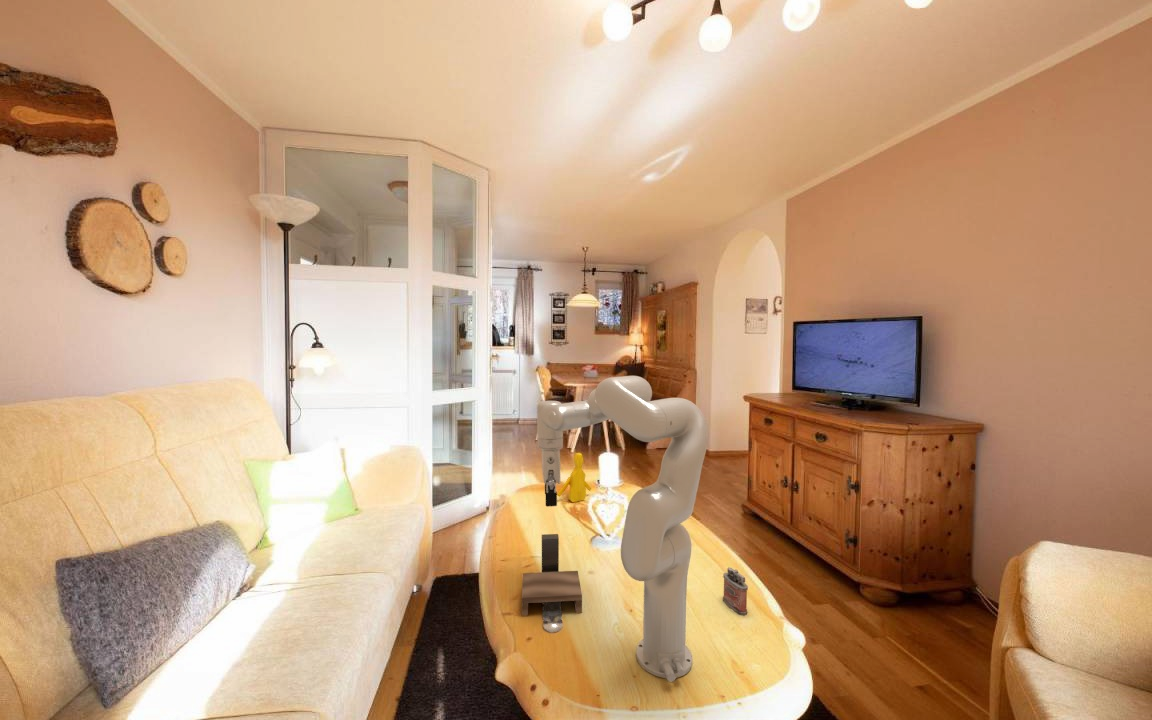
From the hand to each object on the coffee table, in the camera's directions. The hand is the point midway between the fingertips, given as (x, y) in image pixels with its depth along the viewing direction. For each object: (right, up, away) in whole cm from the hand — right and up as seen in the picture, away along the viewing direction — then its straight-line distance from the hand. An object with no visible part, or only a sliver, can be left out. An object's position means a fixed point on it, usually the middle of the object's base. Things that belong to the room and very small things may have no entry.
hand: (550, 499), depth 129 cm
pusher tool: (0, -26, -6) cm, 26 cm away
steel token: (+2, -27, -18) cm, 32 cm away
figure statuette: (+8, -22, +67) cm, 71 cm away
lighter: (+51, -26, -10) cm, 58 cm away
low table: (+1, -26, -8) cm, 27 cm away
